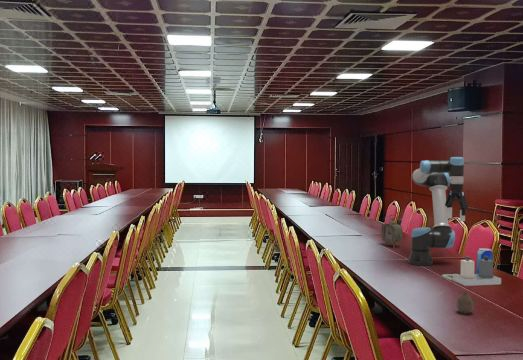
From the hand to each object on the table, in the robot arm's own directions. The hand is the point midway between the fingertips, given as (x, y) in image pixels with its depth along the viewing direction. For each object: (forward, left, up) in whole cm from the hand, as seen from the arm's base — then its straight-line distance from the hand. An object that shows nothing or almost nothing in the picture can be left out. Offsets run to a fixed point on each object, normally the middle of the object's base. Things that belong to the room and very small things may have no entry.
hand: (455, 219), depth 287 cm
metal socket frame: (+21, 0, -33) cm, 39 cm away
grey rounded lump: (+66, -35, -33) cm, 82 cm away
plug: (+20, -5, -32) cm, 38 cm away
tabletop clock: (-97, +5, -33) cm, 103 cm away
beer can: (+6, +15, -33) cm, 37 cm away
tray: (+9, -6, -33) cm, 34 cm away
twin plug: (+21, +6, -32) cm, 38 cm away
